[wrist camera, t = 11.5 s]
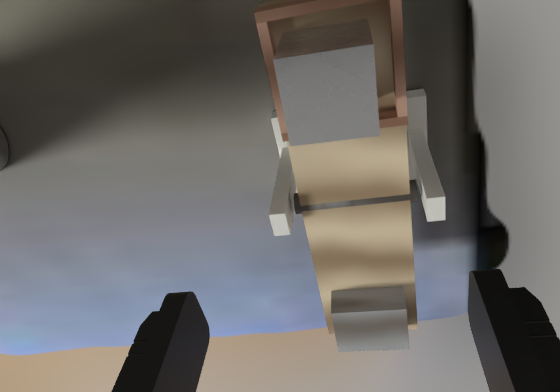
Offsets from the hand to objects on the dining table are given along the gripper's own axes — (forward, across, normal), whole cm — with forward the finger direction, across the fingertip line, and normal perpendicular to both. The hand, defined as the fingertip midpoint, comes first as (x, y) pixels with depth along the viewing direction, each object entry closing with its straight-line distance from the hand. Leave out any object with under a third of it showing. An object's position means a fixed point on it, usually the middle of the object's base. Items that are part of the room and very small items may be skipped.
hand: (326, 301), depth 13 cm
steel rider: (+18, 0, -1) cm, 18 cm away
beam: (+19, 0, +10) cm, 21 cm away
